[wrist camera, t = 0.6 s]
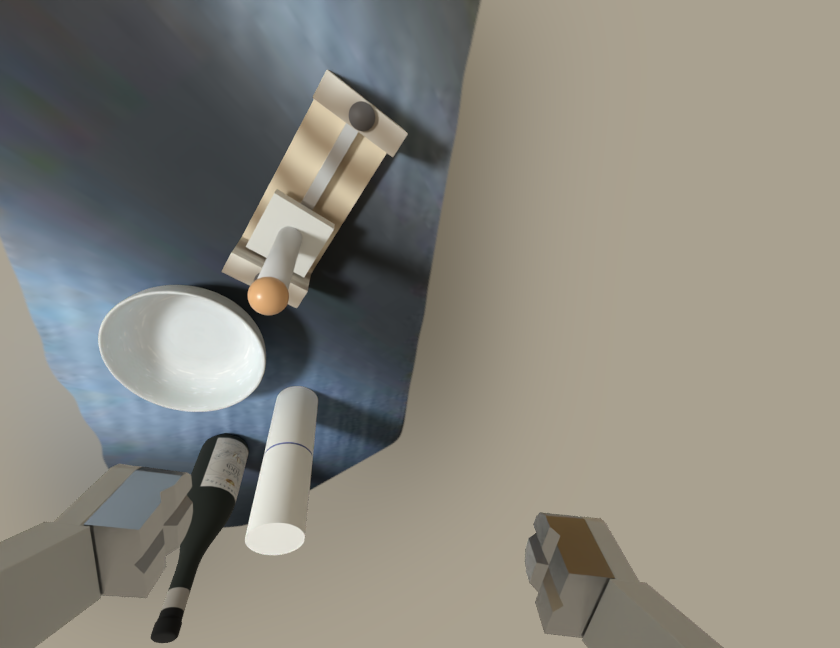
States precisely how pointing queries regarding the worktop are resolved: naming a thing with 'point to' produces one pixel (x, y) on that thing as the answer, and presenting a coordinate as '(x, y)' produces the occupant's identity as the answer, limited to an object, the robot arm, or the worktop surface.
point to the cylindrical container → (285, 475)
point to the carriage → (284, 250)
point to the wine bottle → (203, 522)
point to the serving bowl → (183, 348)
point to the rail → (324, 169)
